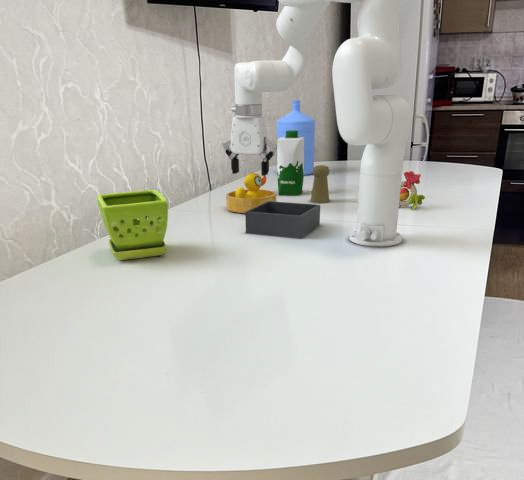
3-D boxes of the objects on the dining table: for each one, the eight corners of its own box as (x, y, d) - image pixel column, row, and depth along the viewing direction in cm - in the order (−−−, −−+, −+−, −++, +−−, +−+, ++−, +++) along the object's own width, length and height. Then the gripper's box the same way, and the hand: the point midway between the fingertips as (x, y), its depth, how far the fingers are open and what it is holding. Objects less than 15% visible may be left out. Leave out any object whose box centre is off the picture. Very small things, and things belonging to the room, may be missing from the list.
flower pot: (104, 248, 125) (95, 193, 119) (162, 242, 129) (157, 189, 123) (111, 265, 113) (101, 205, 107) (174, 257, 117) (169, 199, 112)
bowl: (263, 215, 153) (263, 200, 150) (218, 212, 158) (217, 196, 156) (283, 205, 165) (283, 190, 163) (240, 202, 171) (240, 188, 169)
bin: (300, 238, 130) (301, 216, 127) (245, 233, 135) (245, 211, 133) (319, 225, 141) (320, 204, 139) (268, 221, 147) (267, 201, 144)
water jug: (320, 171, 225) (322, 99, 212) (302, 177, 213) (304, 101, 201) (288, 169, 233) (288, 99, 220) (270, 174, 221) (269, 101, 208)
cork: (307, 202, 169) (308, 166, 164) (315, 198, 174) (315, 163, 169) (325, 203, 166) (326, 167, 161) (332, 200, 171) (333, 164, 166)
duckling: (260, 203, 167) (260, 170, 162) (271, 205, 163) (271, 172, 158) (232, 208, 160) (230, 174, 156) (242, 211, 156) (241, 176, 152)
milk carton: (304, 191, 185) (306, 130, 176) (300, 196, 178) (301, 132, 169) (280, 190, 187) (280, 130, 178) (275, 195, 180) (274, 132, 170)
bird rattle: (396, 216, 158) (425, 206, 153) (384, 180, 155) (414, 168, 150) (400, 212, 163) (429, 202, 158) (389, 177, 160) (418, 166, 155)
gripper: (215, 111, 149) (218, 174, 157) (271, 112, 143) (271, 177, 151) (228, 110, 155) (230, 170, 163) (281, 111, 149) (281, 173, 157)
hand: (250, 174), depth 157 cm, fingers open, 9 cm apart
